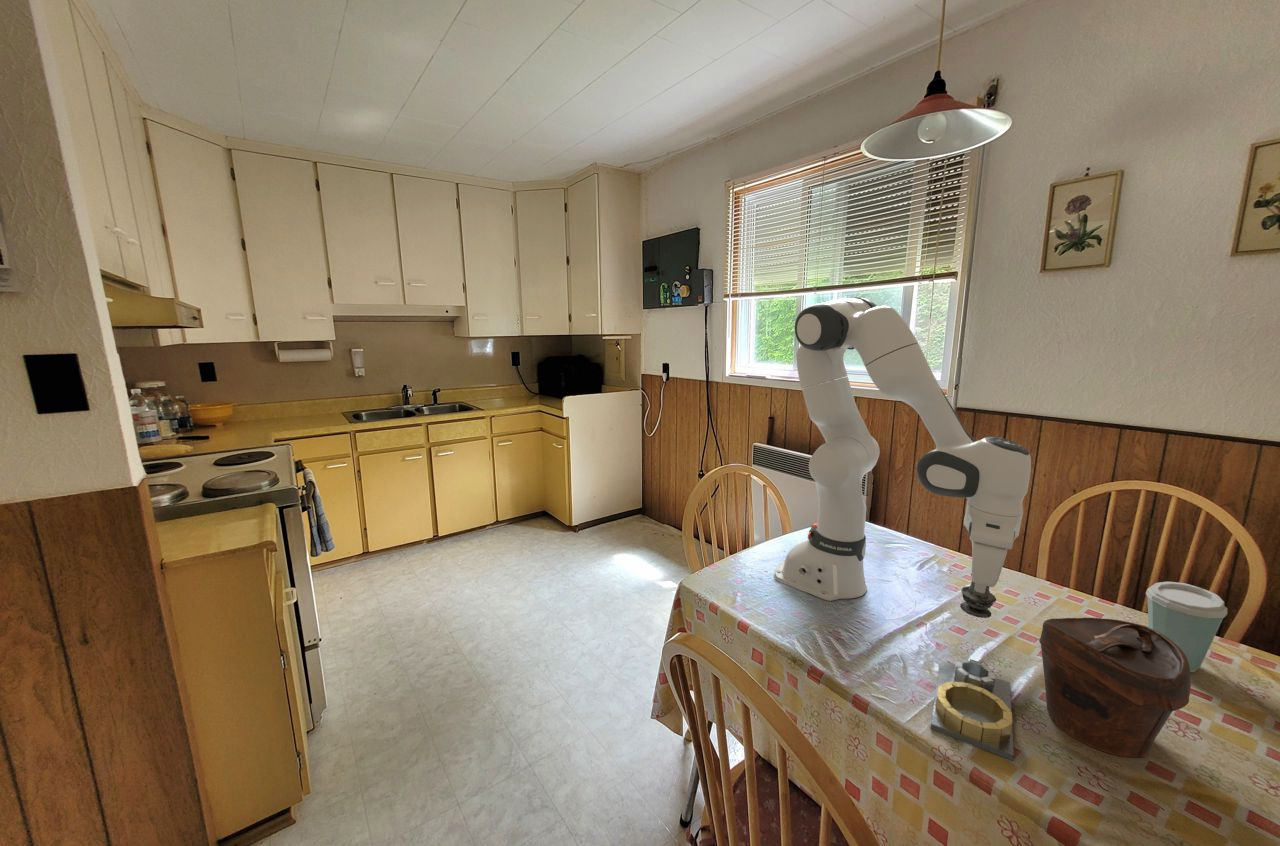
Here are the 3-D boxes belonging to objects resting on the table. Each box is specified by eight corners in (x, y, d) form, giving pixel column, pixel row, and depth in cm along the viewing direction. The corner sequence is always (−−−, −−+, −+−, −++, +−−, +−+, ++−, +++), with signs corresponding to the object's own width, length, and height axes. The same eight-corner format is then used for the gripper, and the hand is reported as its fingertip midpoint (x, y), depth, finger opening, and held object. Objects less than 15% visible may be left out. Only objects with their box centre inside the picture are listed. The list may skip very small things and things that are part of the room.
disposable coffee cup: (1189, 685, 91) (1206, 611, 88) (1120, 649, 102) (1133, 582, 99) (1226, 674, 94) (1244, 602, 91) (1155, 640, 104) (1170, 574, 101)
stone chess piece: (999, 620, 97) (1010, 564, 94) (966, 616, 98) (976, 561, 95) (984, 603, 103) (994, 550, 100) (953, 600, 104) (962, 547, 101)
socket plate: (930, 728, 82) (932, 710, 82) (939, 664, 98) (941, 648, 97) (1012, 760, 76) (1015, 741, 75) (1009, 687, 91) (1011, 670, 91)
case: (1169, 717, 84) (1188, 621, 81) (1184, 801, 70) (1209, 689, 66) (1035, 671, 96) (1047, 586, 92) (1025, 735, 81) (1038, 637, 78)
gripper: (973, 501, 106) (963, 560, 109) (970, 535, 90) (958, 603, 93) (1009, 508, 103) (998, 568, 106) (1013, 545, 86) (999, 615, 89)
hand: (979, 585), depth 99 cm, fingers closed on stone chess piece, 3 cm apart
